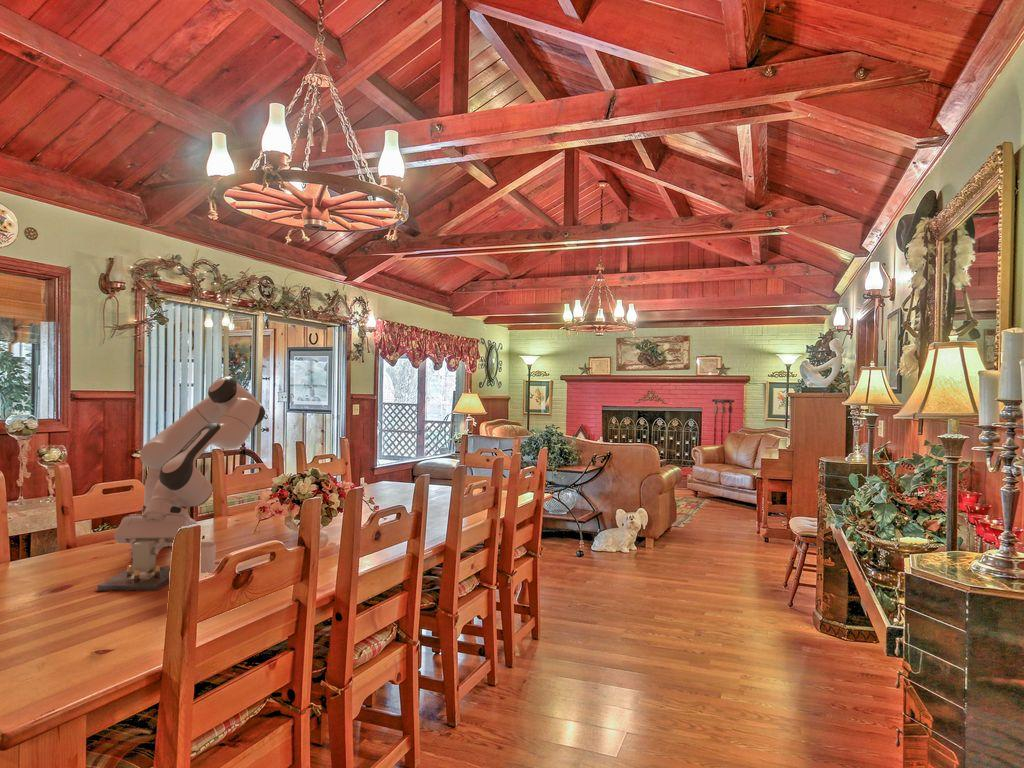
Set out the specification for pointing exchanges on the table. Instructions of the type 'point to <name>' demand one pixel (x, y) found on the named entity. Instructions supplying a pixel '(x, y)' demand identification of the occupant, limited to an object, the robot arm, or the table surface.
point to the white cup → (207, 556)
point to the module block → (144, 555)
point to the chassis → (137, 580)
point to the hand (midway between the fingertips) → (143, 554)
